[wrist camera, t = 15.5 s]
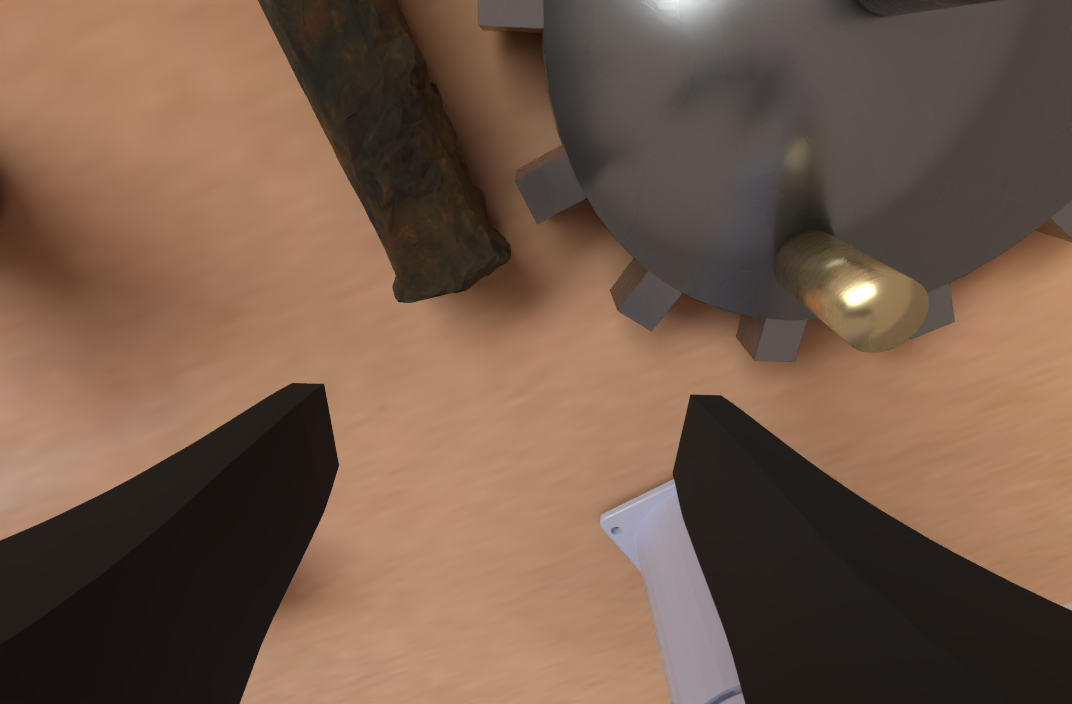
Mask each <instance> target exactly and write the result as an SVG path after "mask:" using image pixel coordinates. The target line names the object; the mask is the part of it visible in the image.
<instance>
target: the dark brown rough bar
mask: <svg viewBox="0 0 1072 704" xmlns="http://www.w3.org/2000/svg"><path fill="white" fill-rule="evenodd" d="M258 1H259V3H260V5H261V7H262V9H263V11H264V13H265V16H266V18H267V20H268V22H269V24H270V26H271V27H272V29H273V31H274V33H275V35H276V37H277V39H278V41H279V43H280V45H281V47H282V49H283V51H284V53H285V55H286V57H287V59H288V61H289V63H290V65H291V67H292V69H293V71H294V73H295V75H296V77H297V80H298V82H299V84H300V86H301V88H302V89H303V91H304V93H305V94H306V96H307V98H308V100H309V102H310V104H311V106H312V108H313V110H314V112H315V115H316V117H317V119H318V121H319V122H320V124H321V126H322V128H323V130H324V132H325V134H326V136H327V138H328V140H329V142H330V144H331V145H332V147H333V149H334V152H335V154H336V157H337V159H338V161H339V162H340V164H341V166H342V168H343V170H344V172H345V174H346V176H347V177H348V179H349V181H350V183H351V185H352V186H353V188H354V190H355V192H356V194H357V195H358V197H359V199H360V201H361V203H362V204H363V206H364V208H365V211H366V213H367V215H368V217H369V219H370V221H371V223H372V224H373V226H374V228H375V230H376V232H377V234H378V236H379V238H380V240H381V242H382V244H383V246H384V248H385V250H386V253H387V255H388V257H389V260H390V262H391V265H392V267H393V269H394V272H395V275H396V277H395V280H394V284H393V291H394V295H395V298H396V299H397V300H398V302H404V303H412V302H416V301H420V300H425V299H429V298H433V297H437V296H441V295H445V294H449V293H458V292H462V291H466V290H467V289H469V288H470V287H471V286H472V285H473V284H475V283H476V282H477V281H478V280H479V279H481V278H483V277H484V276H487V275H490V274H491V273H492V272H493V271H494V270H495V269H496V268H498V267H499V266H501V265H503V264H505V263H507V262H508V260H509V259H510V255H511V248H510V244H509V243H508V242H507V241H506V239H505V238H504V237H503V236H502V235H501V234H500V233H499V232H498V231H496V230H495V229H493V228H491V227H490V226H489V224H488V220H487V209H486V202H485V197H484V194H483V192H482V190H480V189H479V188H477V187H476V186H474V185H472V183H471V181H470V179H469V177H468V174H467V167H466V164H465V162H464V159H463V157H462V154H461V152H460V149H459V147H458V145H457V140H456V134H455V132H454V129H453V127H452V125H451V123H450V121H449V119H448V117H447V116H446V114H445V112H444V110H443V106H442V100H441V96H440V93H439V91H438V88H437V86H436V84H433V83H430V82H429V80H428V76H427V69H426V61H425V60H424V58H423V56H422V54H421V53H420V51H419V49H418V48H417V46H416V44H415V43H414V40H413V38H412V35H411V32H410V29H409V27H408V25H407V22H406V20H405V18H404V16H403V14H402V12H401V10H400V8H399V6H398V3H397V1H396V0H258Z"/></svg>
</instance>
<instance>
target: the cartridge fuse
mask: <svg viewBox="0 0 1072 704" xmlns="http://www.w3.org/2000/svg"><path fill="white" fill-rule="evenodd" d="M858 1H859V2H860V3H861V4H862V5H863V6H864V7H865V8H867V9H868V10H870V11H872V12H874V13H877V14H880V15H886V16H898V15H904V14H911V13H918V12H925V11H931V10H938V9H945V8H952V7H959V6H965V5H972V4H979V3H986V2H992V1H999V0H858Z"/></svg>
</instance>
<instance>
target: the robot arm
mask: <svg viewBox="0 0 1072 704" xmlns="http://www.w3.org/2000/svg"><path fill="white" fill-rule="evenodd" d="M338 467H339V463H338V457H337V452H336V447H335V441H334V436H333V430H332V425H331V419H330V414H329V408H328V403H327V397H326V392H325V387H324V384H306V383H292V384H290V385H288V386H286V387H284V388H282V389H280V390H279V391H277V392H275V393H274V394H272V395H270V396H269V397H267V398H265V399H264V400H262V401H260V402H259V403H257V404H256V405H254V406H252V407H251V408H249V409H248V410H246V411H245V412H243V413H241V414H240V415H238V416H237V417H235V418H233V419H232V420H230V421H229V422H227V423H225V424H224V425H222V426H220V427H219V428H217V429H216V430H214V431H212V432H211V433H209V434H208V435H206V436H204V437H203V438H201V439H200V440H198V441H196V442H195V443H193V444H191V445H189V446H188V447H186V448H184V449H182V450H181V451H179V452H177V453H175V454H174V455H172V456H170V457H169V458H167V459H165V460H163V461H162V462H160V463H158V464H156V465H155V466H153V467H151V468H149V469H148V470H146V471H144V472H142V473H141V474H139V475H137V476H135V477H133V478H132V479H130V480H128V481H126V482H124V483H122V484H120V485H118V486H117V487H115V488H113V489H111V490H109V491H107V492H105V493H103V494H101V495H99V496H97V497H95V498H93V499H91V500H89V501H87V502H85V503H83V504H81V505H78V506H76V507H74V508H72V509H70V510H68V511H66V512H64V513H62V514H60V515H58V516H56V517H54V518H51V519H49V520H47V521H45V522H43V523H40V524H38V525H36V526H33V527H31V528H29V529H26V530H24V531H22V532H19V533H17V534H15V535H13V536H10V537H8V538H6V539H3V540H1V541H0V704H240V701H241V698H242V696H243V693H244V690H245V688H246V685H247V682H248V679H249V677H250V674H251V671H252V669H253V666H254V663H255V660H256V658H257V655H258V652H259V650H260V647H261V645H262V642H263V640H264V638H265V635H266V633H267V631H268V629H269V626H270V624H271V622H272V619H273V617H274V615H275V613H276V611H277V609H278V607H279V605H280V603H281V601H282V599H283V597H284V595H285V593H286V590H287V588H288V586H289V584H290V582H291V580H292V578H293V576H294V574H295V572H296V570H297V568H298V566H299V564H300V562H301V560H302V557H303V555H304V553H305V551H306V549H307V547H308V545H309V543H310V541H311V539H312V537H313V534H314V532H315V530H316V528H317V526H318V524H319V522H320V520H321V517H322V515H323V513H324V511H325V508H326V505H327V502H328V499H329V496H330V493H331V490H332V487H333V483H334V480H335V477H336V474H337V470H338ZM673 477H674V479H673V480H670V481H668V482H666V483H664V484H662V485H660V486H658V487H656V488H654V489H652V490H650V491H648V492H646V493H644V494H642V495H640V496H638V497H636V498H634V499H632V500H630V501H627V502H625V503H623V504H621V505H619V506H617V507H615V508H613V509H611V510H609V511H607V512H605V513H603V514H602V515H601V516H600V526H601V528H602V529H603V530H604V531H605V533H606V534H607V535H608V536H609V537H610V538H611V539H612V540H613V542H614V543H615V544H616V545H617V546H618V547H619V548H620V549H621V551H622V552H623V553H624V554H625V555H626V556H627V557H628V558H629V560H630V561H631V562H632V563H633V564H634V565H635V566H636V567H637V569H638V570H639V571H640V572H641V573H642V575H643V580H644V584H645V589H646V593H647V597H648V602H649V606H650V611H651V615H652V619H653V624H654V628H655V633H656V637H657V641H658V646H659V650H660V655H661V659H662V663H663V668H664V672H665V676H666V681H667V685H668V690H669V694H670V698H671V703H672V704H1072V611H1071V610H1069V609H1067V608H1065V607H1063V606H1060V605H1058V604H1056V603H1054V602H1052V601H1050V600H1047V599H1045V598H1043V597H1041V596H1039V595H1037V594H1035V593H1033V592H1031V591H1029V590H1027V589H1024V588H1022V587H1020V586H1018V585H1016V584H1014V583H1012V582H1010V581H1008V580H1006V579H1004V578H1002V577H1000V576H998V575H996V574H994V573H992V572H991V571H989V570H987V569H985V568H983V567H981V566H979V565H977V564H975V563H973V562H971V561H969V560H967V559H965V558H963V557H962V556H960V555H958V554H956V553H954V552H952V551H950V550H948V549H947V548H945V547H943V546H941V545H939V544H938V543H936V542H934V541H932V540H930V539H929V538H927V537H925V536H923V535H922V534H920V533H918V532H917V531H915V530H913V529H912V528H910V527H908V526H907V525H905V524H903V523H901V522H900V521H898V520H896V519H895V518H893V517H891V516H890V515H888V514H886V513H885V512H883V511H881V510H880V509H878V508H877V507H875V506H873V505H872V504H870V503H869V502H867V501H866V500H864V499H863V498H861V497H859V496H858V495H857V494H855V493H854V492H852V491H851V490H849V489H848V488H846V487H845V486H843V485H842V484H840V483H839V482H837V481H836V480H834V479H833V478H832V477H830V476H829V475H827V474H826V473H824V472H823V471H822V470H820V469H819V468H817V467H816V466H815V465H813V464H812V463H810V462H809V461H808V460H806V459H805V458H804V457H802V456H801V455H800V454H798V453H797V452H796V451H794V450H793V449H792V448H790V447H789V446H788V445H786V444H785V443H784V442H782V441H781V440H780V439H778V438H777V437H776V436H775V435H773V434H772V433H771V432H769V431H768V430H767V429H765V428H764V427H763V426H762V425H760V424H759V423H758V422H756V421H755V420H754V419H753V418H751V417H750V416H749V415H747V414H746V413H745V412H743V411H742V410H741V409H739V408H738V407H737V406H735V405H734V404H733V403H731V402H730V401H728V400H727V399H725V398H724V397H722V396H721V395H690V399H689V404H688V408H687V412H686V417H685V421H684V426H683V430H682V435H681V439H680V443H679V448H678V452H677V457H676V461H675V466H674V470H673ZM614 527H618V528H614Z"/></svg>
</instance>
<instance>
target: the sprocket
mask: <svg viewBox="0 0 1072 704" xmlns="http://www.w3.org/2000/svg"><path fill="white" fill-rule="evenodd" d="M478 25H479V26H480V27H481V28H482V29H483V30H492V31H512V32H532V33H542V53H543V61H544V69H545V76H546V84H547V92H548V96H549V100H550V104H551V108H552V112H553V116H554V120H555V124H556V128H557V132H558V134H559V137H560V139H561V142H562V144H563V145H561V146H559V147H557V148H556V149H554V150H552V151H550V152H548V153H547V154H545V155H543V156H541V157H539V158H538V159H536V160H534V161H532V162H530V163H529V164H527V165H525V166H523V167H521V168H520V169H518V170H516V176H515V182H516V184H517V186H518V188H519V190H520V192H521V194H522V196H523V197H524V199H525V201H526V203H527V205H528V207H529V209H530V211H531V213H532V215H533V216H534V218H535V220H536V222H537V224H539V223H540V222H542V221H544V220H546V219H548V218H550V217H552V216H554V215H556V214H558V213H560V212H561V211H563V210H565V209H567V208H569V207H571V206H573V205H575V204H577V203H579V202H580V201H582V200H584V199H586V198H588V200H589V202H590V204H591V205H592V207H593V209H594V211H595V212H596V214H597V215H598V216H599V218H600V219H601V220H602V222H603V223H604V224H605V226H606V227H607V228H608V230H609V231H610V232H611V234H612V235H613V236H614V238H615V239H616V240H617V241H618V242H619V243H620V244H621V245H622V246H623V247H624V248H625V249H626V250H627V251H628V252H629V253H630V254H631V255H632V256H633V257H634V259H633V260H632V261H631V263H630V264H629V265H628V267H627V268H626V269H625V271H624V272H623V273H622V275H621V276H620V277H619V279H618V280H617V281H616V283H615V284H614V285H613V287H612V288H611V289H610V292H611V294H612V297H613V300H614V302H615V305H616V308H617V310H618V311H619V312H620V313H622V314H624V315H625V316H627V317H629V318H630V319H632V320H634V321H635V322H637V323H639V324H640V325H642V326H644V327H645V328H647V329H649V330H650V331H652V330H653V329H654V327H655V326H656V325H657V324H658V322H659V321H660V320H661V319H662V318H663V316H664V315H665V314H666V313H667V312H668V310H669V309H670V308H671V307H672V305H673V304H674V303H675V302H676V301H677V299H678V298H679V297H680V296H681V295H682V293H684V294H686V295H688V296H690V297H692V298H694V299H696V300H698V301H701V302H704V303H706V304H709V305H712V306H714V307H717V308H720V309H722V310H726V311H730V312H734V313H739V314H742V315H741V319H740V323H739V327H738V330H737V334H736V338H737V339H738V340H739V341H740V343H741V344H742V345H743V347H744V348H745V349H746V350H747V352H748V353H749V354H750V355H751V357H752V358H753V359H754V361H788V362H794V361H795V358H796V355H797V352H798V349H799V346H800V343H801V339H802V336H803V333H804V330H805V327H806V324H807V321H808V320H821V321H823V322H824V323H825V324H826V325H827V326H828V327H830V328H831V329H832V330H833V331H834V332H835V333H837V334H838V335H839V336H840V337H841V338H843V339H844V340H845V341H846V342H847V343H848V344H850V345H851V346H852V347H853V348H855V349H857V350H860V351H863V352H870V353H871V352H882V351H886V350H889V349H892V348H894V347H896V346H898V345H900V344H902V343H903V342H905V341H906V340H908V339H909V338H910V339H913V338H915V337H918V336H920V335H923V334H925V333H928V332H930V331H933V330H935V329H938V328H940V327H943V326H945V325H948V324H950V323H953V322H955V321H954V313H953V306H952V299H951V292H950V284H949V283H950V282H952V281H954V280H956V279H958V278H960V277H962V276H964V275H966V274H968V273H970V272H971V271H973V270H975V269H976V268H978V267H980V266H982V265H983V264H985V263H987V262H988V261H990V260H992V259H994V258H995V257H997V256H999V255H1000V254H1002V253H1003V252H1005V251H1006V250H1008V249H1009V248H1011V247H1012V246H1013V245H1015V244H1016V243H1018V242H1019V241H1020V240H1022V239H1023V238H1025V237H1026V236H1028V235H1029V234H1030V233H1032V232H1033V231H1038V232H1041V233H1044V234H1047V235H1051V236H1054V237H1057V238H1060V239H1063V240H1066V241H1070V242H1072V0H999V1H992V2H986V3H979V4H972V5H965V6H959V7H952V8H945V9H938V10H931V11H925V12H918V13H911V14H904V15H898V16H886V15H880V14H877V13H874V12H872V11H870V10H868V9H867V8H865V7H864V6H863V5H862V4H861V3H860V2H859V1H858V0H478Z"/></svg>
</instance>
